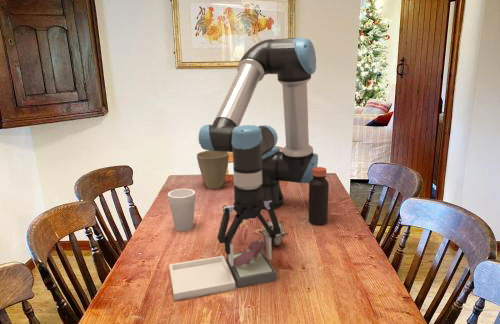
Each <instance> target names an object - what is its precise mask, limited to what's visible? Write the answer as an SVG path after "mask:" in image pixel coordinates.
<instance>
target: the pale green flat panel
mask: <svg viewBox="0 0 500 324" xmlns="http://www.w3.org/2000/svg"><path fill="white" fill-rule="evenodd" d="M241 254H242V253H240V254H234V255H233V256H234V258H236V257H237V256H239V255H241ZM234 268H235V270H236V272H237V274H238V276H239V278H242V277H247V276H253V275H258V274H264V273H269V272H273V271H272V269H271V268H270V266H269V265H268V263H267V262H266V260H265V259H264V257H263V256H262V254H261V253H259V254H258V257H257V258H255V259H254V260H253V261H251V262H250V263H249V264H247V263H246V264H244V265H242V266H236V265H234Z"/></svg>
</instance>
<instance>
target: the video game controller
mask: <svg viewBox="0 0 500 324" xmlns="http://www.w3.org/2000/svg"><path fill="white" fill-rule="evenodd" d="M265 243H266V242H265V241H263V240H260V239H257V240H256V241H252V242H250V243H249V244H248V245H247V247H246V248H245V249H244V251H242V252H243V253H242V254H241V255H239V256H237V257H236V258H234V265H236V266H242V265H244V264H246V263H247V264H249V263H250V262H251V261H253V260H254V259H255V258H257V257H258V254H259V253H260V252H261V251H263V250H264V248H266V244H265Z"/></svg>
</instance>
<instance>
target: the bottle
mask: <svg viewBox="0 0 500 324" xmlns="http://www.w3.org/2000/svg"><path fill="white" fill-rule="evenodd" d="M312 176H313V179H312V180H311V181H310V182H309V183H308V222H309V224H311V225H314V226H324V225H326V224H328V220H329V219H328V215H329V214H328V213H329V211H328V210H329V189H330V188H329V187H330V184H329V181H328V180H327V179H326V177H327V168H326V167H323V166H317V167H314V168H312Z"/></svg>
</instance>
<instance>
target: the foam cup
mask: <svg viewBox="0 0 500 324" xmlns="http://www.w3.org/2000/svg"><path fill="white" fill-rule="evenodd" d="M167 200H168V203H169V207H170V212H171V216H172V221H173V226H174V230H176V232H187V231H190V230H192V229H193V228H194V218H195V217H194V216H195V204H196V202H195V201H196V192H195V190H194V189H192V188H191V189H189V188H177V189H173V190H171V191H169V192H168V193H167Z"/></svg>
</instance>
